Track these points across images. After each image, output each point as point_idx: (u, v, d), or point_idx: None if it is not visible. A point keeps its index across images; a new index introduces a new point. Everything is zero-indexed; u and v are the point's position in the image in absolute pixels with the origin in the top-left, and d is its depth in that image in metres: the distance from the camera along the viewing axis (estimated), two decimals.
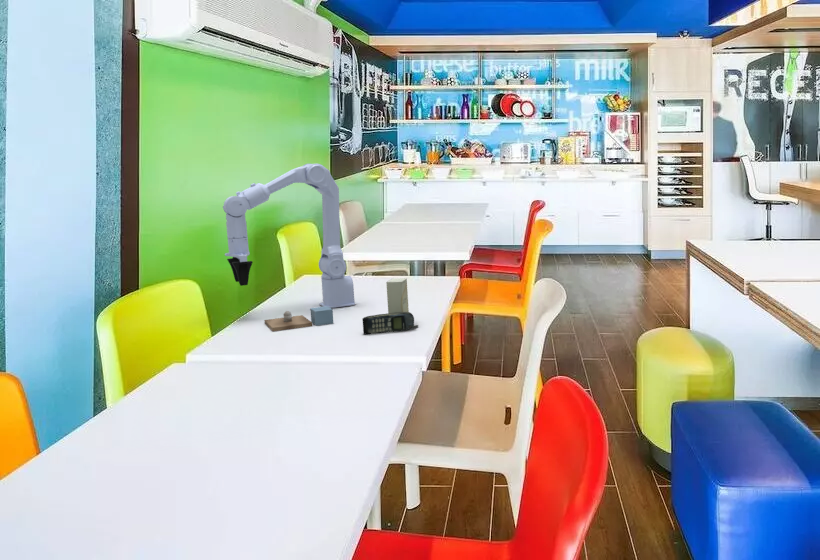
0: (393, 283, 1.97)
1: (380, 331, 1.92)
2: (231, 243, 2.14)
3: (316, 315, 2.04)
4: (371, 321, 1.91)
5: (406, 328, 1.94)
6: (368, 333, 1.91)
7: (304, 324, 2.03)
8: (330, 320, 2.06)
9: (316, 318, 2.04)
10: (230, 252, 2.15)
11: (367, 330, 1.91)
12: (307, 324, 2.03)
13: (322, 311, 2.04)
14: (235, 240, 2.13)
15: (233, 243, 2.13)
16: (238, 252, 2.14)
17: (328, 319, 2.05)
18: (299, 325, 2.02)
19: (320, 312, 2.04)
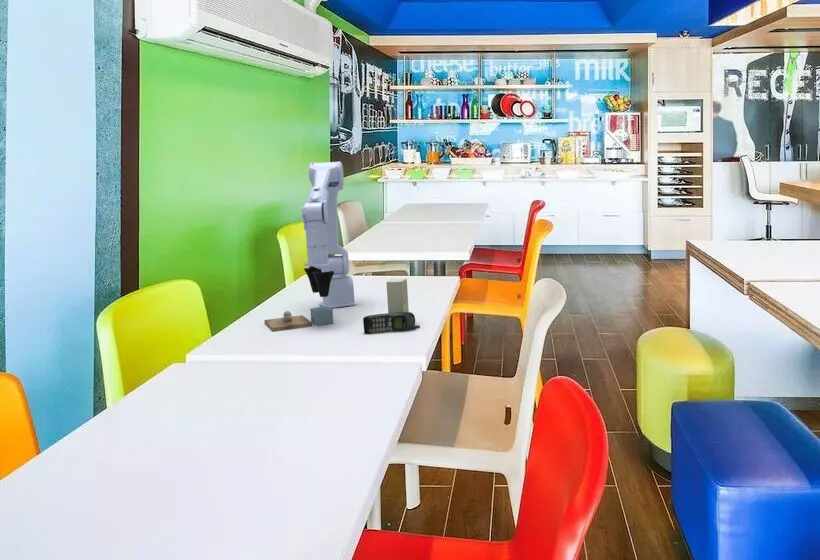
0: (393, 283, 1.97)
1: (380, 331, 1.93)
2: (311, 252, 2.01)
3: (316, 315, 2.04)
4: (371, 320, 1.92)
5: (407, 328, 1.94)
6: (368, 332, 1.92)
7: (304, 324, 2.03)
8: (330, 320, 2.06)
9: (316, 318, 2.04)
10: (310, 261, 2.02)
11: (367, 329, 1.92)
12: (307, 324, 2.03)
13: (322, 311, 2.04)
14: (315, 249, 2.01)
15: (313, 252, 2.01)
16: (318, 261, 2.02)
17: (328, 319, 2.05)
18: (299, 325, 2.02)
19: (320, 312, 2.04)
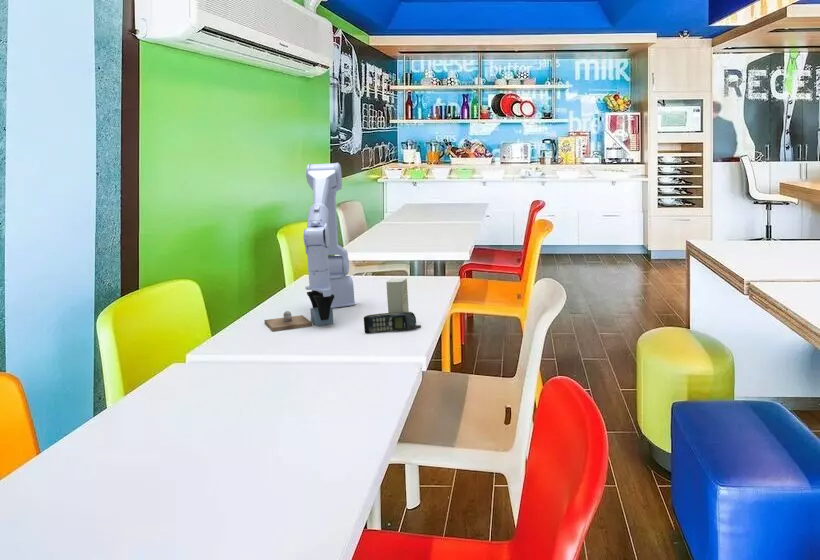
0: (393, 283, 1.97)
1: (381, 330, 1.93)
2: (313, 276, 2.02)
3: (316, 315, 2.04)
4: (371, 320, 1.92)
5: (407, 328, 1.94)
6: (369, 332, 1.93)
7: (304, 324, 2.03)
8: (330, 320, 2.06)
9: (316, 318, 2.04)
10: (311, 285, 2.04)
11: (368, 329, 1.93)
12: (307, 324, 2.03)
13: None
14: (317, 273, 2.02)
15: (315, 276, 2.02)
16: (320, 286, 2.03)
17: (328, 319, 2.05)
18: (299, 325, 2.02)
19: None
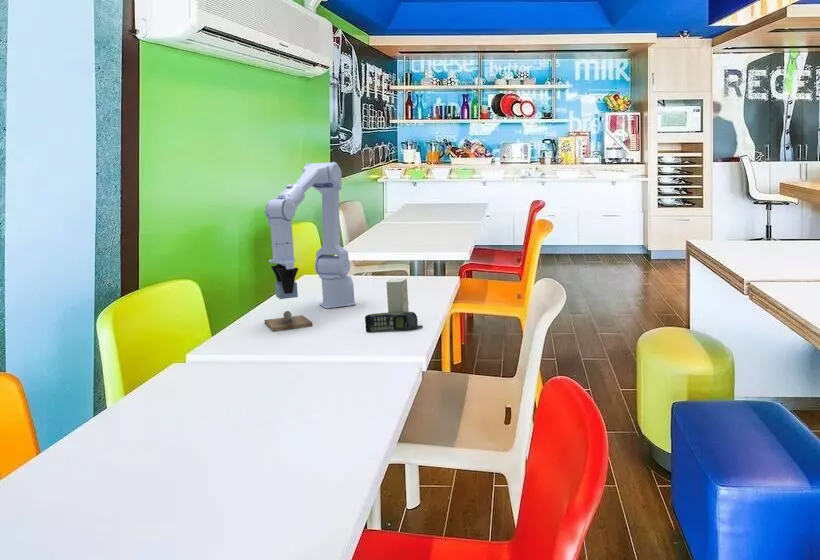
0: (393, 283, 1.97)
1: (382, 330, 1.94)
2: (276, 249, 2.01)
3: (280, 288, 2.02)
4: (372, 319, 1.93)
5: (408, 328, 1.94)
6: (370, 331, 1.94)
7: (304, 324, 2.03)
8: (294, 294, 2.04)
9: (280, 291, 2.02)
10: (275, 259, 2.02)
11: (369, 328, 1.94)
12: (307, 324, 2.03)
13: None
14: (280, 246, 2.00)
15: (278, 249, 2.00)
16: (283, 259, 2.01)
17: (293, 293, 2.03)
18: (299, 325, 2.02)
19: None
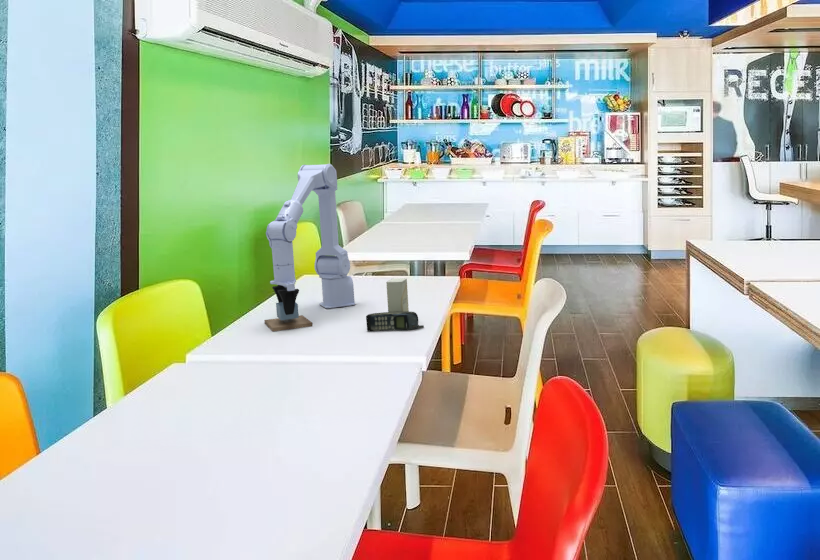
0: (393, 283, 1.97)
1: (382, 329, 1.95)
2: (277, 270, 2.02)
3: (281, 309, 2.03)
4: (373, 318, 1.94)
5: (409, 328, 1.94)
6: (371, 330, 1.95)
7: (304, 324, 2.03)
8: (295, 315, 2.05)
9: (281, 313, 2.03)
10: (276, 280, 2.03)
11: (370, 327, 1.95)
12: (307, 324, 2.03)
13: None
14: (281, 267, 2.01)
15: (279, 270, 2.01)
16: (285, 280, 2.02)
17: (294, 314, 2.04)
18: (299, 325, 2.02)
19: None
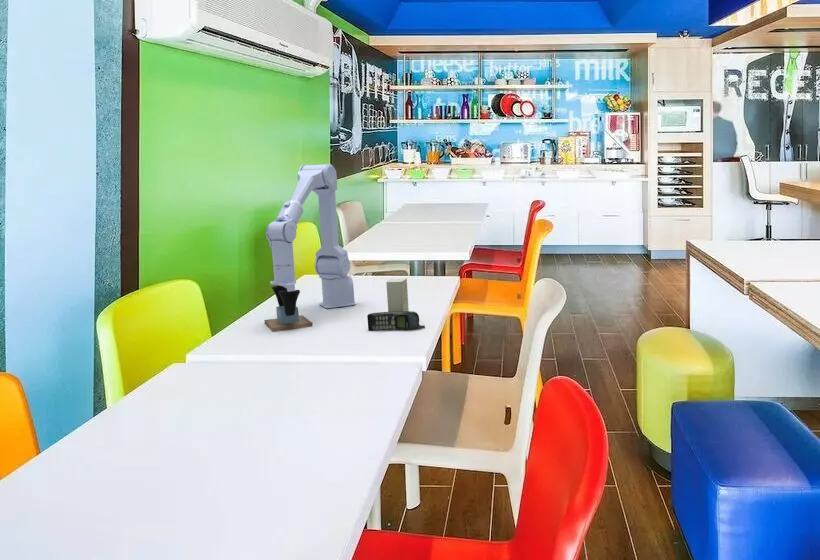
0: (393, 283, 1.97)
1: (383, 329, 1.95)
2: (277, 271, 2.02)
3: (281, 313, 2.03)
4: (374, 318, 1.95)
5: (410, 327, 1.94)
6: (372, 329, 1.95)
7: (304, 324, 2.03)
8: (296, 318, 2.05)
9: (281, 316, 2.03)
10: (276, 280, 2.03)
11: (371, 326, 1.95)
12: (307, 324, 2.03)
13: None
14: (282, 268, 2.01)
15: (279, 271, 2.01)
16: (285, 280, 2.02)
17: (294, 318, 2.05)
18: (299, 325, 2.02)
19: None
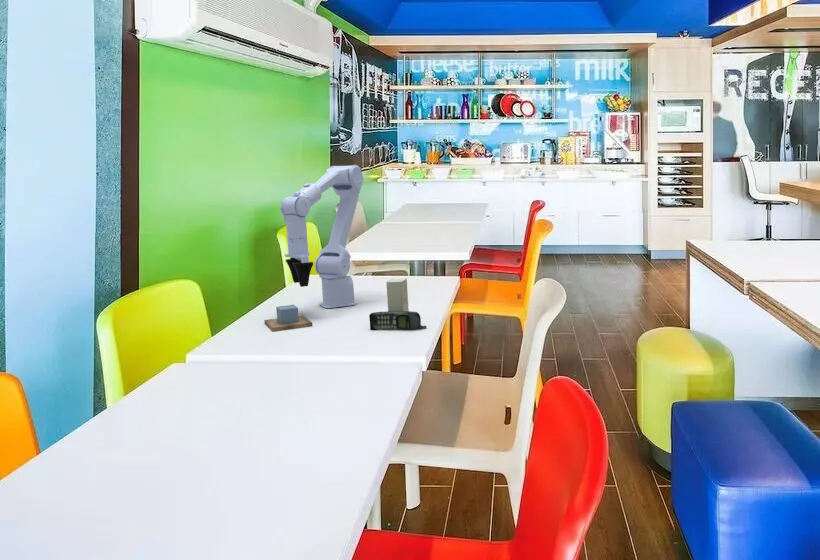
0: (393, 283, 1.97)
1: (385, 328, 1.96)
2: (292, 244, 2.12)
3: (281, 313, 2.03)
4: (376, 317, 1.96)
5: (411, 328, 1.94)
6: (373, 329, 1.96)
7: (304, 324, 2.03)
8: (296, 318, 2.05)
9: (281, 316, 2.03)
10: (290, 253, 2.13)
11: (372, 326, 1.96)
12: (307, 324, 2.03)
13: (287, 309, 2.04)
14: (296, 241, 2.11)
15: (293, 244, 2.11)
16: (298, 253, 2.12)
17: (294, 318, 2.05)
18: (299, 325, 2.02)
19: (285, 310, 2.03)
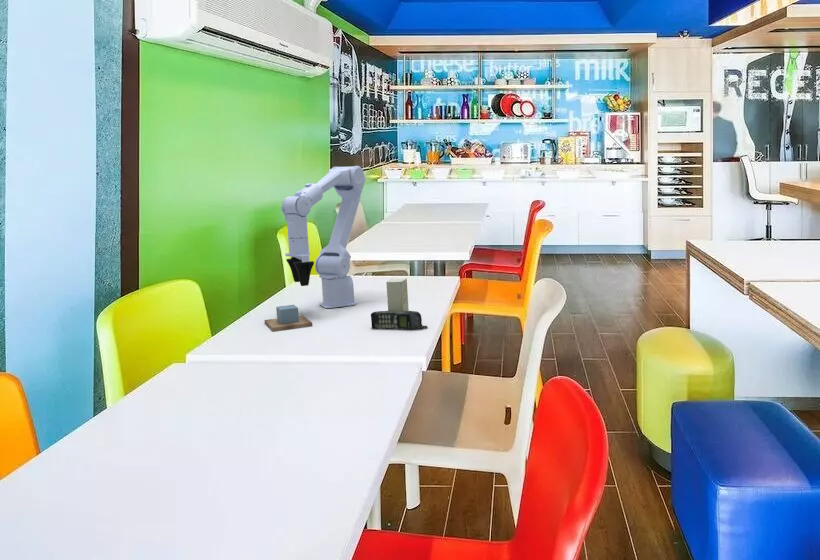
0: (393, 283, 1.97)
1: (386, 327, 1.96)
2: (292, 243, 2.12)
3: (281, 313, 2.03)
4: (377, 316, 1.96)
5: (411, 327, 1.94)
6: (375, 328, 1.97)
7: (304, 324, 2.03)
8: (296, 318, 2.05)
9: (281, 316, 2.03)
10: (291, 252, 2.13)
11: (374, 325, 1.97)
12: (307, 324, 2.03)
13: (287, 309, 2.04)
14: (296, 240, 2.12)
15: (294, 243, 2.12)
16: (299, 252, 2.12)
17: (294, 318, 2.05)
18: (299, 325, 2.02)
19: (285, 310, 2.03)
